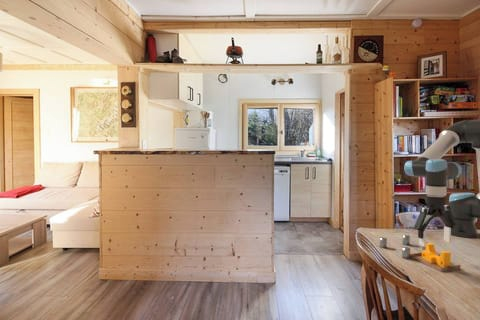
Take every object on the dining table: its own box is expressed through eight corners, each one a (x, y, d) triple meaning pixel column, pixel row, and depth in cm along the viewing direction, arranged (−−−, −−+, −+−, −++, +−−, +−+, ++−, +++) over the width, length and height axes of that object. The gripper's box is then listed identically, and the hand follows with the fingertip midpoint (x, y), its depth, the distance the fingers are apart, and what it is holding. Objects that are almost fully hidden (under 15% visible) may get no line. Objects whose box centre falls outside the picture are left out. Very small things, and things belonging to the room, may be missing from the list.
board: (427, 254, 141) (427, 251, 141) (460, 268, 126) (460, 265, 126) (409, 257, 138) (409, 254, 138) (441, 271, 123) (441, 268, 123)
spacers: (406, 243, 158) (406, 234, 157) (436, 255, 140) (436, 245, 140) (378, 246, 153) (378, 237, 153) (405, 259, 136) (406, 249, 136)
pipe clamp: (421, 257, 137) (422, 243, 137) (431, 257, 137) (431, 243, 137) (439, 268, 125) (440, 253, 125) (450, 268, 125) (450, 252, 125)
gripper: (450, 191, 137) (449, 237, 139) (405, 196, 131) (404, 244, 132) (466, 194, 130) (465, 242, 131) (419, 199, 123) (418, 250, 125)
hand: (434, 243), depth 132 cm, fingers open, 13 cm apart
